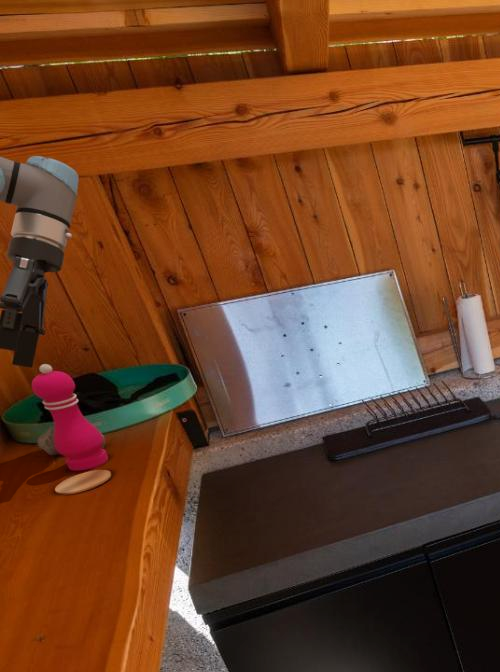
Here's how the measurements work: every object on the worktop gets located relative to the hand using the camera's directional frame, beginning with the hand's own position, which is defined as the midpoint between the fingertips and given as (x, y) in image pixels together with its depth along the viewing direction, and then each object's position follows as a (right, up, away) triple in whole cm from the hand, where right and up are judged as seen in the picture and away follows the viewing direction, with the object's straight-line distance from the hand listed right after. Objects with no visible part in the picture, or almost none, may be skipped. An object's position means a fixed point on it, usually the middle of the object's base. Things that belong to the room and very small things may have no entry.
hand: (13, 358), depth 133 cm
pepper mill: (+4, -19, +12) cm, 22 cm away
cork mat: (+9, -22, +5) cm, 24 cm away
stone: (-3, -16, +17) cm, 24 cm away
